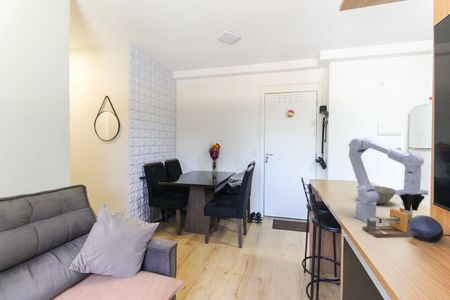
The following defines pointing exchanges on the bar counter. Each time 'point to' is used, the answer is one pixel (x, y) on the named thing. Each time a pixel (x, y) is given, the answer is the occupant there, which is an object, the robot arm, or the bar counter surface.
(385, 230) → the pipe stand
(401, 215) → the collar
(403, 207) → the supplement bottle
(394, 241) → the bar counter surface
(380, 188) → the ceramic bowl
